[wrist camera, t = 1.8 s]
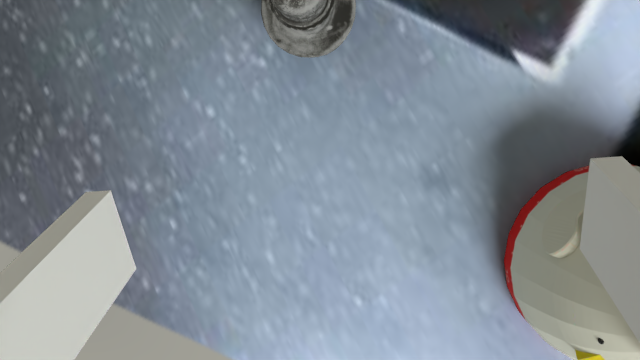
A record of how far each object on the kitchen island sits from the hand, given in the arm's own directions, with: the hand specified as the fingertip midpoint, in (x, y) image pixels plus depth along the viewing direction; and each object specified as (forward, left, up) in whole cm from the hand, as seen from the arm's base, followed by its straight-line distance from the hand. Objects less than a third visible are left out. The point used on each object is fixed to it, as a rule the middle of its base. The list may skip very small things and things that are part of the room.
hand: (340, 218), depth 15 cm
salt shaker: (+3, -9, -23) cm, 25 cm away
